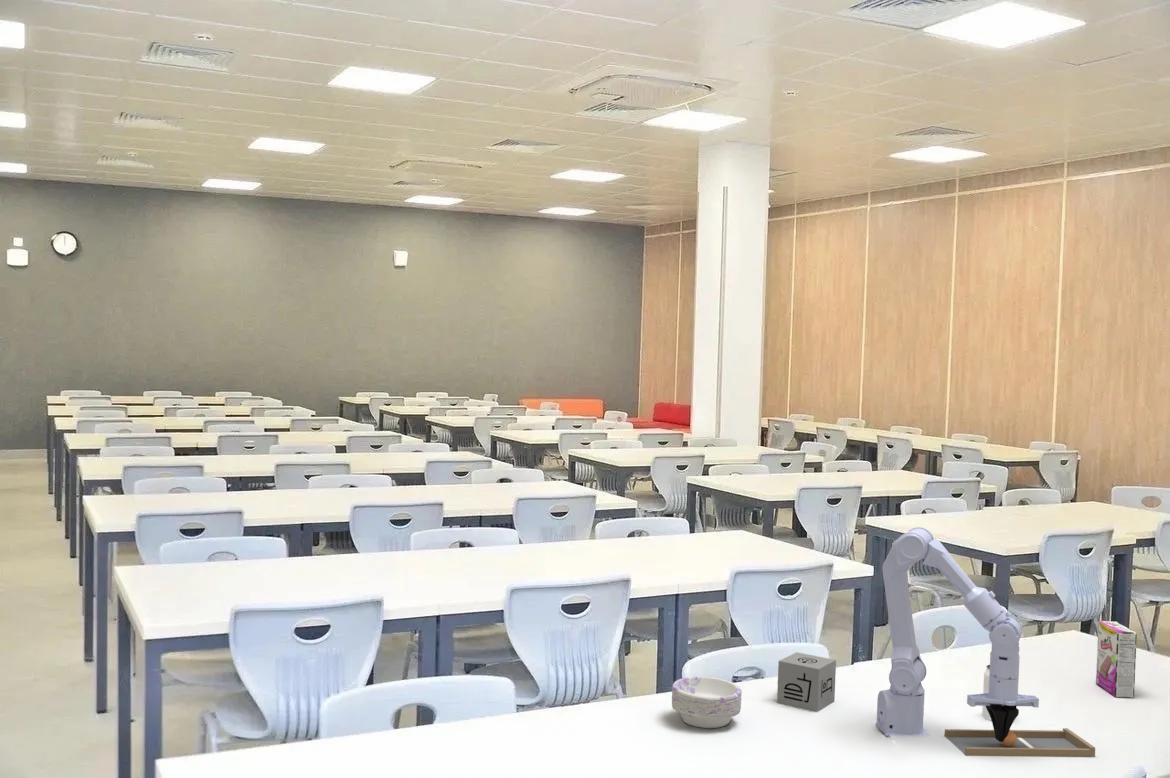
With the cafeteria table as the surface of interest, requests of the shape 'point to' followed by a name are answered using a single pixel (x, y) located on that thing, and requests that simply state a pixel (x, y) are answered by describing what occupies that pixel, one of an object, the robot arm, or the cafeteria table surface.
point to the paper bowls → (706, 701)
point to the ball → (1009, 739)
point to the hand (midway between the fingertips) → (1001, 740)
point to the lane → (1021, 743)
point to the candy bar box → (1116, 659)
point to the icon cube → (806, 681)
